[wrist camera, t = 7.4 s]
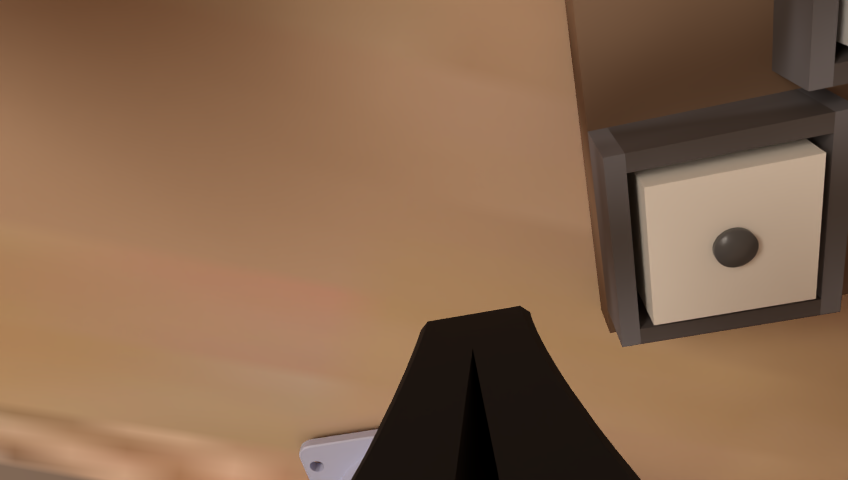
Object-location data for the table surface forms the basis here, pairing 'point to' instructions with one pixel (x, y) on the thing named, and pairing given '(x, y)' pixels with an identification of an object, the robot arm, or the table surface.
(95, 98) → the table surface
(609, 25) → the dark brown cabinet frame
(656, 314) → the tile one
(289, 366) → the table surface
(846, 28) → the tile two
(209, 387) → the table surface
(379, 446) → the robot arm
